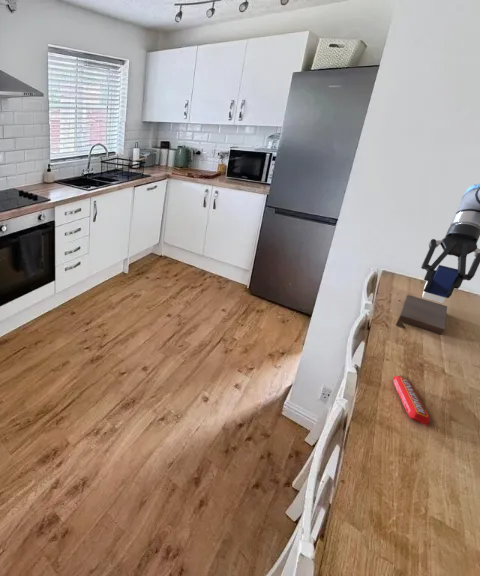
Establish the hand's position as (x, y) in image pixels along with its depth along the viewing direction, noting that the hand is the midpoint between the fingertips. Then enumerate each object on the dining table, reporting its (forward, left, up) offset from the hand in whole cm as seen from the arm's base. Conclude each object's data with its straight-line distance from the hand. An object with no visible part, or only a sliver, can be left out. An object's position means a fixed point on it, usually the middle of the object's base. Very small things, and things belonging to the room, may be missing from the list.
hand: (437, 292), depth 112 cm
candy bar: (+17, +40, -14) cm, 46 cm away
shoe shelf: (-3, -7, -13) cm, 15 cm away
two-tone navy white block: (-3, -7, -3) cm, 8 cm away
